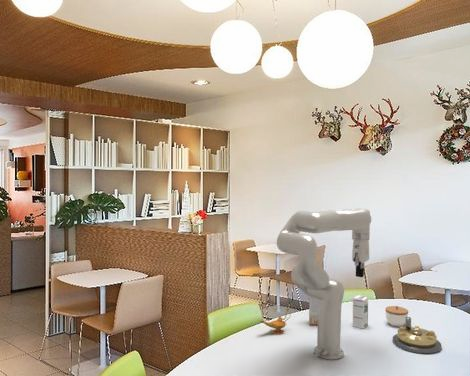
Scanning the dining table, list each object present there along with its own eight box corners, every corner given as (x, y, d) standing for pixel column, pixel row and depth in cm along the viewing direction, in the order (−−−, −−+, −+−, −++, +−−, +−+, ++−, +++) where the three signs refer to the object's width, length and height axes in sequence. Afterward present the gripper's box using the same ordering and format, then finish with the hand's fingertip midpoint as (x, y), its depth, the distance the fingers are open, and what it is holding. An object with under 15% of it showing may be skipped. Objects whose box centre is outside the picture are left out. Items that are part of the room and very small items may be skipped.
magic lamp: (255, 333, 206) (256, 310, 206) (285, 326, 216) (286, 304, 215) (264, 338, 201) (264, 314, 200) (294, 331, 210) (295, 308, 209)
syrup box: (363, 329, 213) (364, 299, 213) (352, 326, 217) (352, 297, 216) (367, 325, 218) (368, 297, 217) (356, 323, 221) (357, 294, 221)
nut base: (436, 358, 182) (436, 354, 182) (387, 346, 193) (387, 342, 193) (445, 342, 198) (445, 338, 198) (399, 332, 210) (399, 329, 209)
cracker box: (336, 322, 222) (337, 281, 221) (338, 326, 216) (339, 284, 215) (308, 321, 224) (309, 280, 223) (309, 325, 218) (310, 283, 217)
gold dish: (396, 344, 191) (397, 326, 191) (398, 331, 206) (398, 314, 206) (436, 350, 185) (437, 331, 185) (435, 337, 200) (436, 319, 199)
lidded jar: (409, 329, 214) (410, 310, 213) (386, 327, 216) (387, 308, 215) (405, 321, 224) (406, 303, 224) (383, 320, 226) (384, 302, 226)
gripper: (363, 239, 190) (362, 281, 191) (374, 235, 202) (373, 274, 203) (346, 237, 194) (345, 278, 195) (358, 233, 206) (357, 272, 207)
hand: (359, 276), depth 199 cm, fingers closed
